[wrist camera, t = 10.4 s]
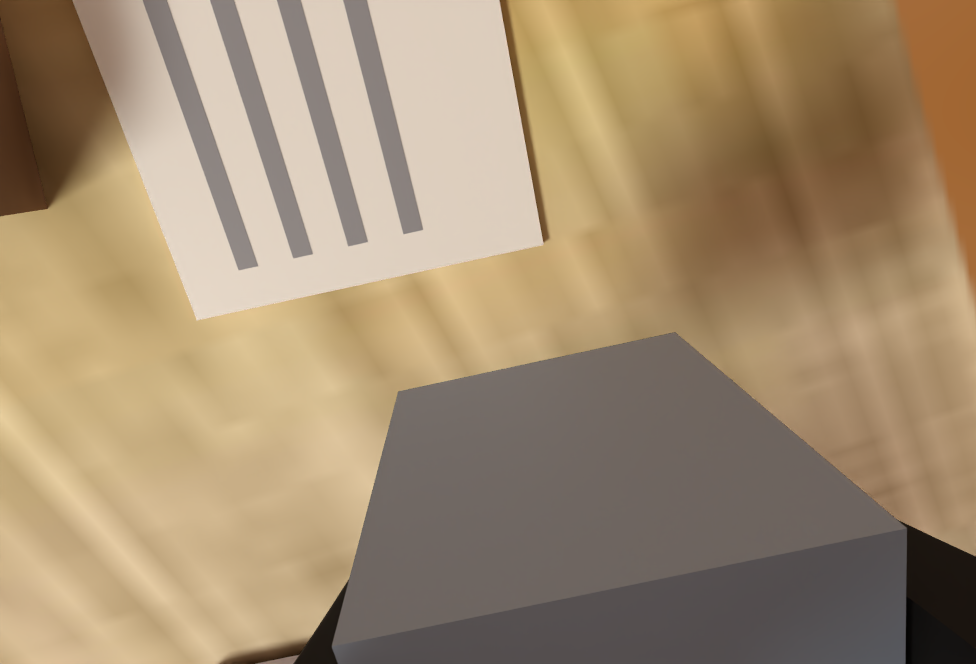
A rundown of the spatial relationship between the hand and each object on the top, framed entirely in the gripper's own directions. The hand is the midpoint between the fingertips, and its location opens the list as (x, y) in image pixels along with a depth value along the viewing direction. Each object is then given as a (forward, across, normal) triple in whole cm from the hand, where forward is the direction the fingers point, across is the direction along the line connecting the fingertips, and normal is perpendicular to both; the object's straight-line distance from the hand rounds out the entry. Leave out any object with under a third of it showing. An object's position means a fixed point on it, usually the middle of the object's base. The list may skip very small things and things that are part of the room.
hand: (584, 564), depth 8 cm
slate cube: (+2, 0, 0) cm, 2 cm away
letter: (+8, +3, -9) cm, 13 cm away
